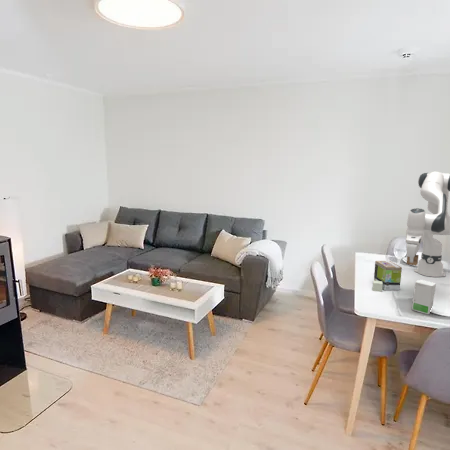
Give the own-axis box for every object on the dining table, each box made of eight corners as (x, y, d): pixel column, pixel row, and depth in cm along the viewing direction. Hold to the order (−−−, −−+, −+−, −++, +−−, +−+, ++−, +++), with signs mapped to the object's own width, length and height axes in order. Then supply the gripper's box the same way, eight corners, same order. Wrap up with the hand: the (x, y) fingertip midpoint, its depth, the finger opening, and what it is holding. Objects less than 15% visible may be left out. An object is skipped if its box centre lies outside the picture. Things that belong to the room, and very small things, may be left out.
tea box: (400, 290, 205) (402, 267, 202) (383, 290, 205) (385, 267, 202) (388, 282, 220) (390, 260, 217) (373, 282, 220) (374, 260, 217)
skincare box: (411, 310, 177) (414, 281, 175) (415, 306, 182) (418, 278, 179) (429, 315, 171) (432, 285, 169) (433, 311, 176) (436, 282, 173)
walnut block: (408, 261, 198) (408, 253, 197) (417, 263, 195) (418, 255, 194) (406, 264, 194) (407, 255, 193) (416, 265, 191) (417, 257, 190)
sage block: (372, 288, 209) (373, 280, 208) (381, 289, 207) (382, 281, 207) (372, 290, 205) (373, 282, 204) (382, 291, 203) (382, 284, 202)
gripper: (411, 233, 202) (409, 255, 204) (405, 240, 186) (403, 264, 188) (423, 234, 198) (421, 257, 201) (418, 241, 182) (415, 266, 185)
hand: (412, 260), depth 194 cm, fingers closed on walnut block, 5 cm apart
